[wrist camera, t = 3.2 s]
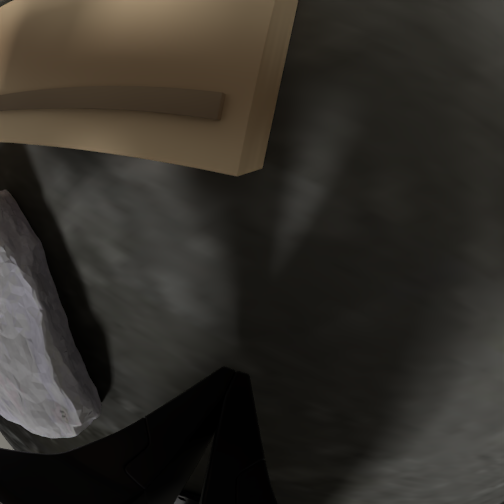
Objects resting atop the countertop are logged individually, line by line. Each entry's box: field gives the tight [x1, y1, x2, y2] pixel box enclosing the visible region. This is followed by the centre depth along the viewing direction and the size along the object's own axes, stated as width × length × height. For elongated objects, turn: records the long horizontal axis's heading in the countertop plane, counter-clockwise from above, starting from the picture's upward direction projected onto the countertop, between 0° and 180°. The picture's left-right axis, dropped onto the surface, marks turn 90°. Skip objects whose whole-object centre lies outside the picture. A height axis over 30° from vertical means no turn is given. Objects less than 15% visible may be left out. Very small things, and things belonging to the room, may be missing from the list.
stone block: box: [0, 189, 102, 438], centre depth 11 cm, size 12×5×10 cm
